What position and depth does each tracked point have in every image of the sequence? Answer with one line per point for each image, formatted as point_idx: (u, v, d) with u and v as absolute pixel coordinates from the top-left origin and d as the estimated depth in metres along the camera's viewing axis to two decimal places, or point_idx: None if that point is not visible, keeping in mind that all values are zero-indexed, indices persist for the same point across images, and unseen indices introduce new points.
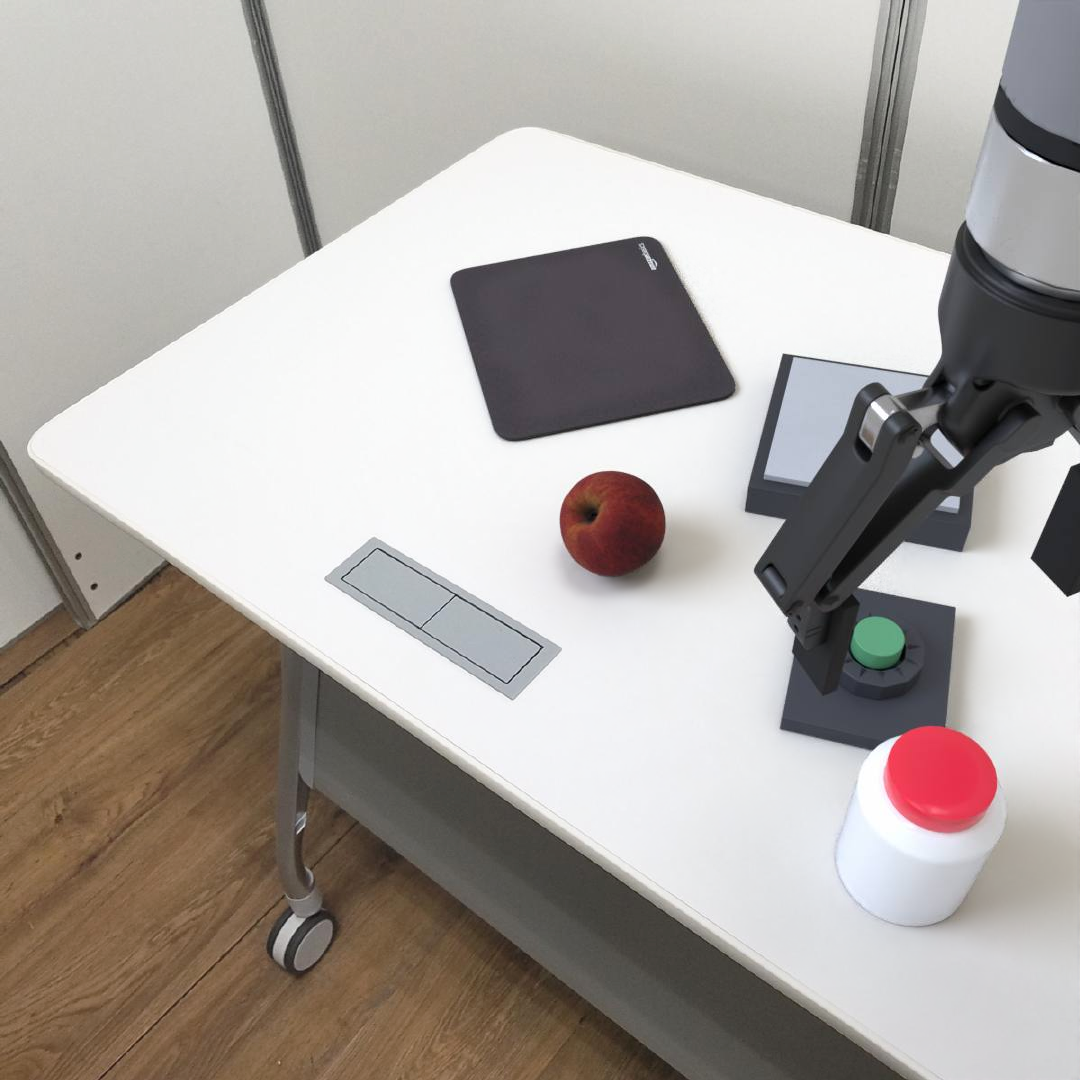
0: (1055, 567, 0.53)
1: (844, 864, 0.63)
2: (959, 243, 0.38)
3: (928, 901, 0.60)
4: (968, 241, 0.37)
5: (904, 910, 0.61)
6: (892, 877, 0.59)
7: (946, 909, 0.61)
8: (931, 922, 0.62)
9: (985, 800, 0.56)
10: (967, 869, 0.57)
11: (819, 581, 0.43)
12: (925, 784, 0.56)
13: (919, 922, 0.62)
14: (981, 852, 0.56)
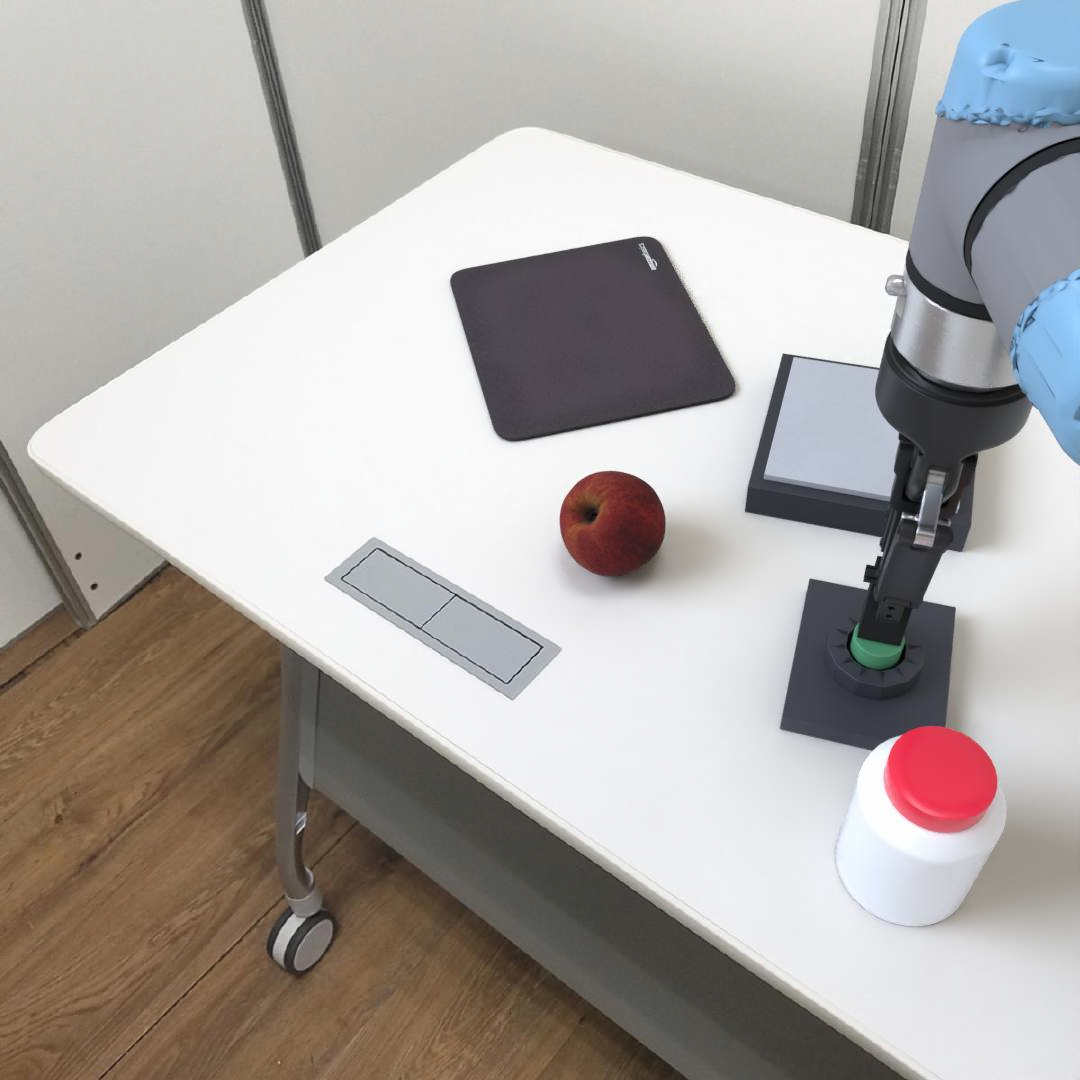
0: None
1: (844, 864, 0.63)
2: (912, 386, 0.52)
3: (928, 901, 0.60)
4: (922, 382, 0.52)
5: (904, 910, 0.61)
6: (892, 877, 0.59)
7: (946, 909, 0.61)
8: (931, 922, 0.62)
9: (985, 800, 0.56)
10: (967, 869, 0.57)
11: None
12: (925, 784, 0.56)
13: (919, 922, 0.62)
14: (981, 852, 0.56)
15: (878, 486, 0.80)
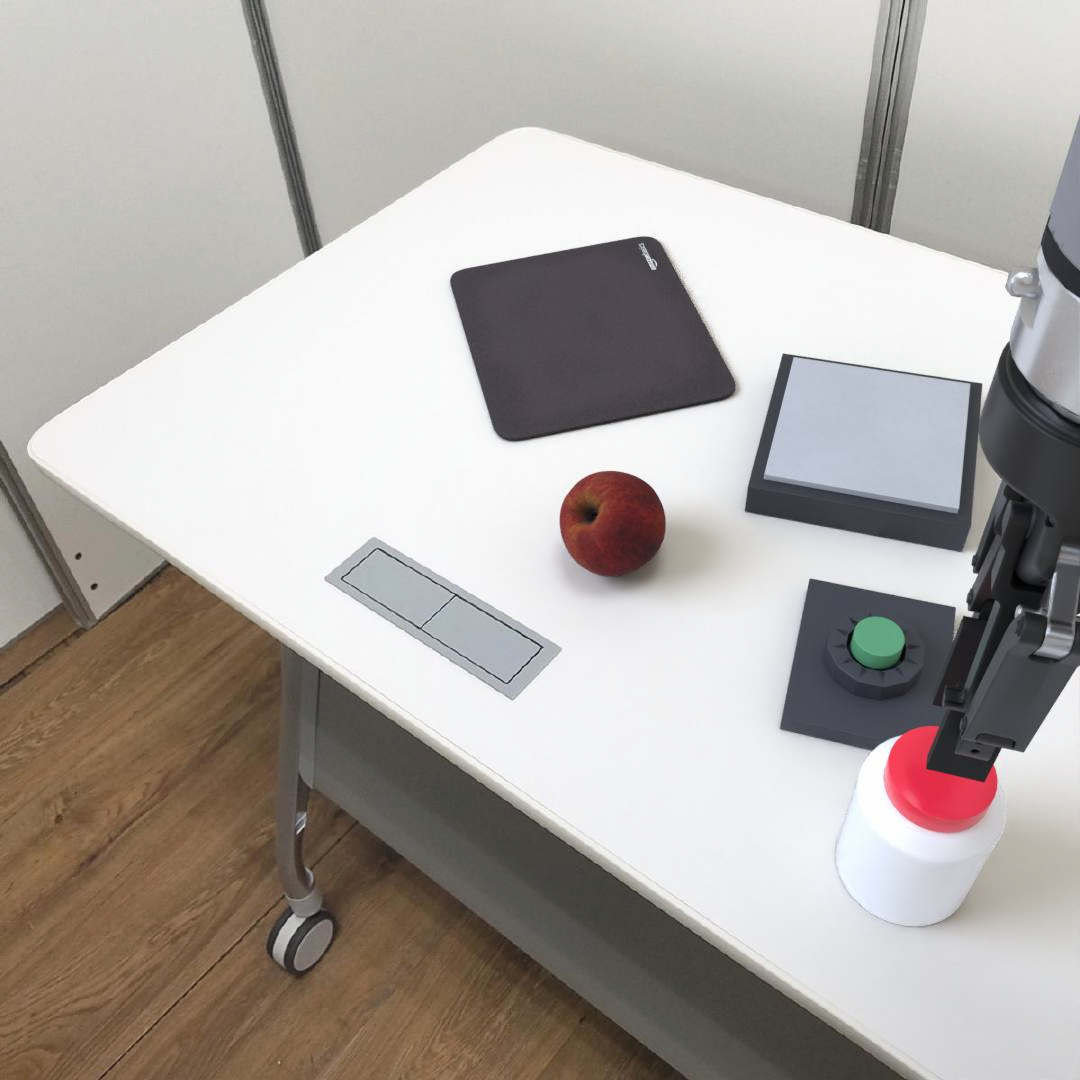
0: None
1: (844, 864, 0.63)
2: (1045, 429, 0.36)
3: (928, 901, 0.60)
4: (1061, 424, 0.35)
5: (904, 910, 0.61)
6: (892, 877, 0.59)
7: (946, 909, 0.61)
8: (931, 922, 0.62)
9: (985, 800, 0.56)
10: (967, 869, 0.57)
11: None
12: (925, 784, 0.56)
13: (919, 922, 0.62)
14: (981, 852, 0.56)
15: (878, 486, 0.80)
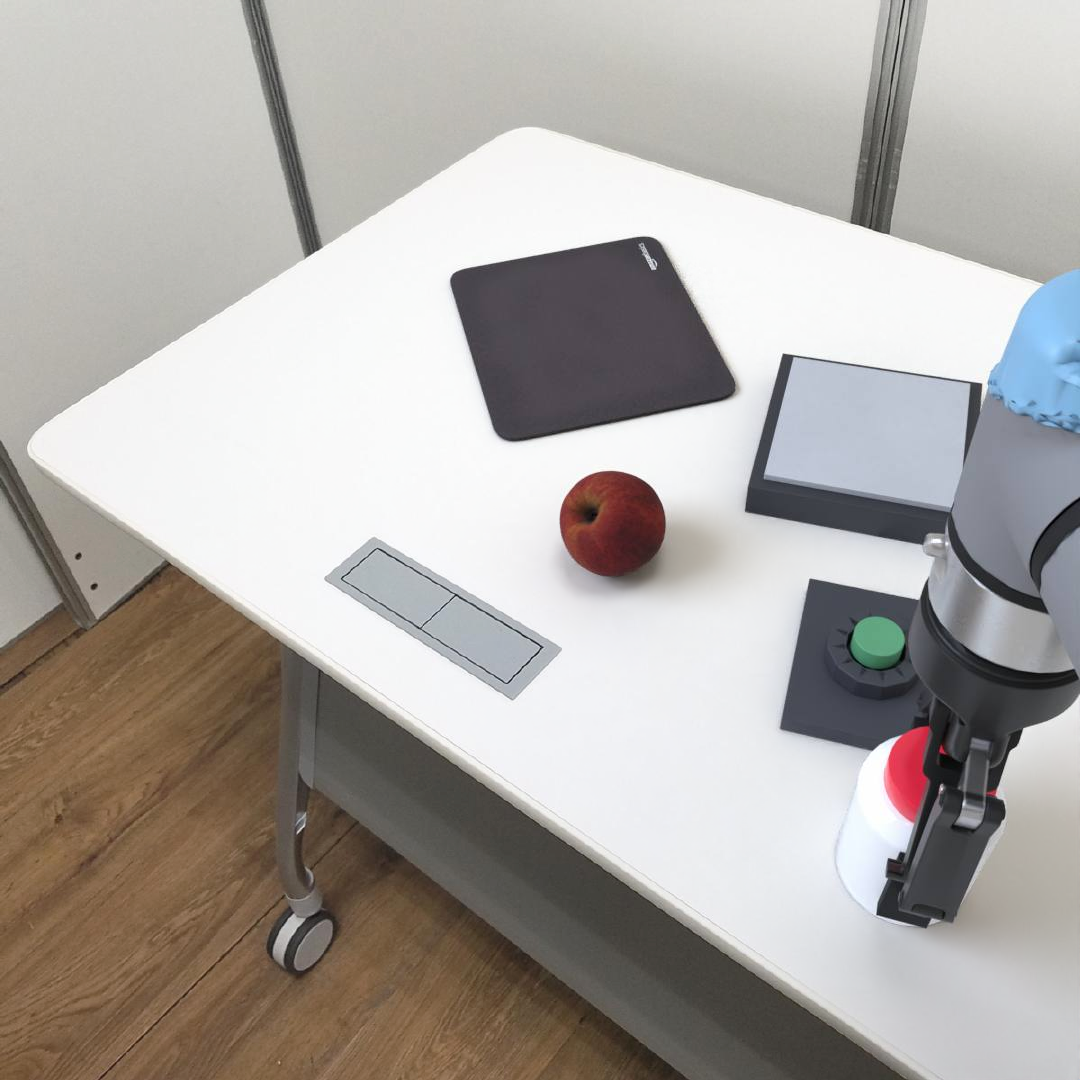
0: None
1: (844, 864, 0.63)
2: (954, 658, 0.45)
3: None
4: (966, 656, 0.45)
5: None
6: None
7: None
8: (931, 922, 0.62)
9: None
10: None
11: None
12: None
13: None
14: None
15: (878, 486, 0.80)
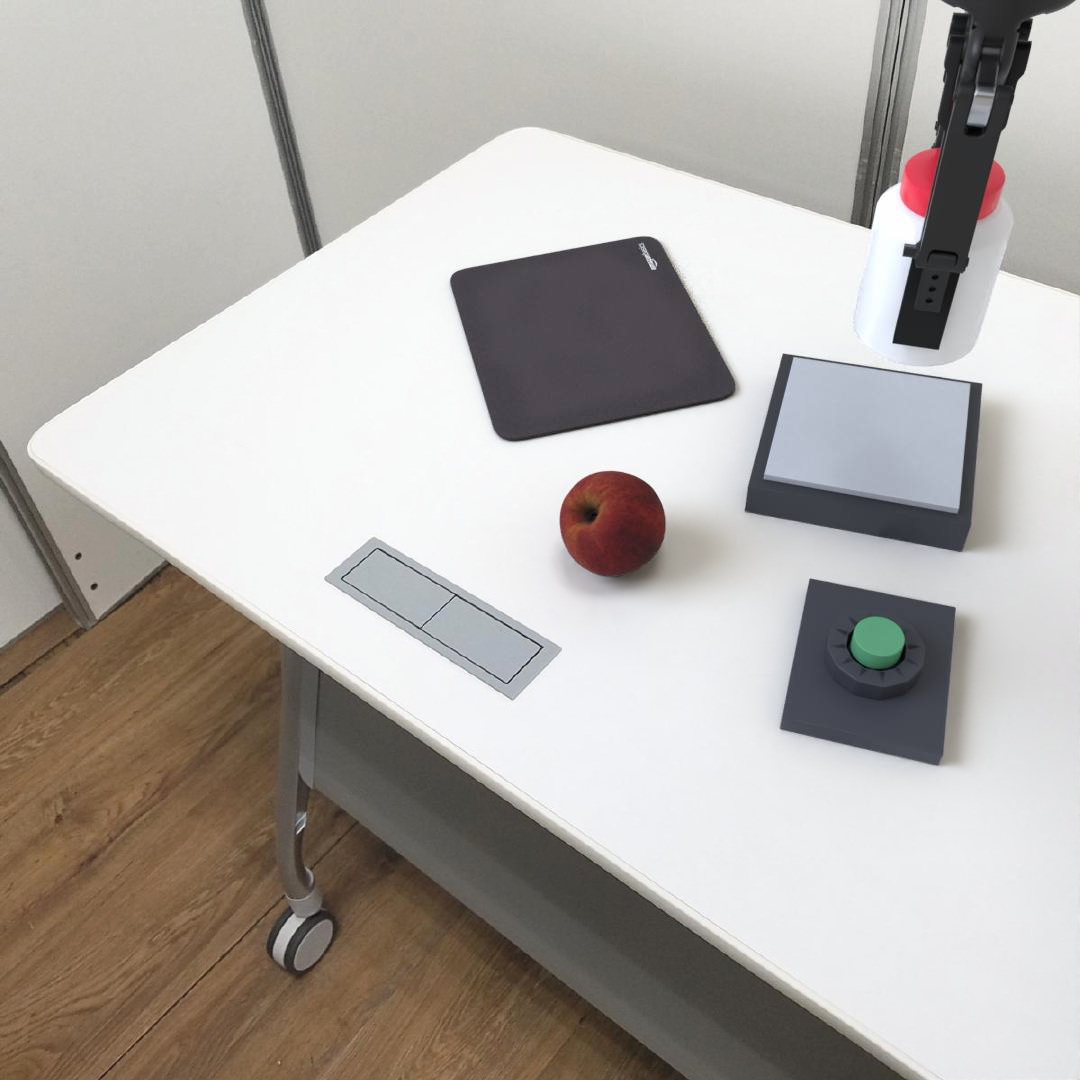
0: None
1: (862, 316, 0.68)
2: None
3: None
4: None
5: None
6: None
7: (957, 340, 0.66)
8: (943, 360, 0.67)
9: (994, 187, 0.61)
10: (977, 269, 0.62)
11: None
12: None
13: (932, 358, 0.67)
14: (990, 243, 0.61)
15: (878, 486, 0.80)
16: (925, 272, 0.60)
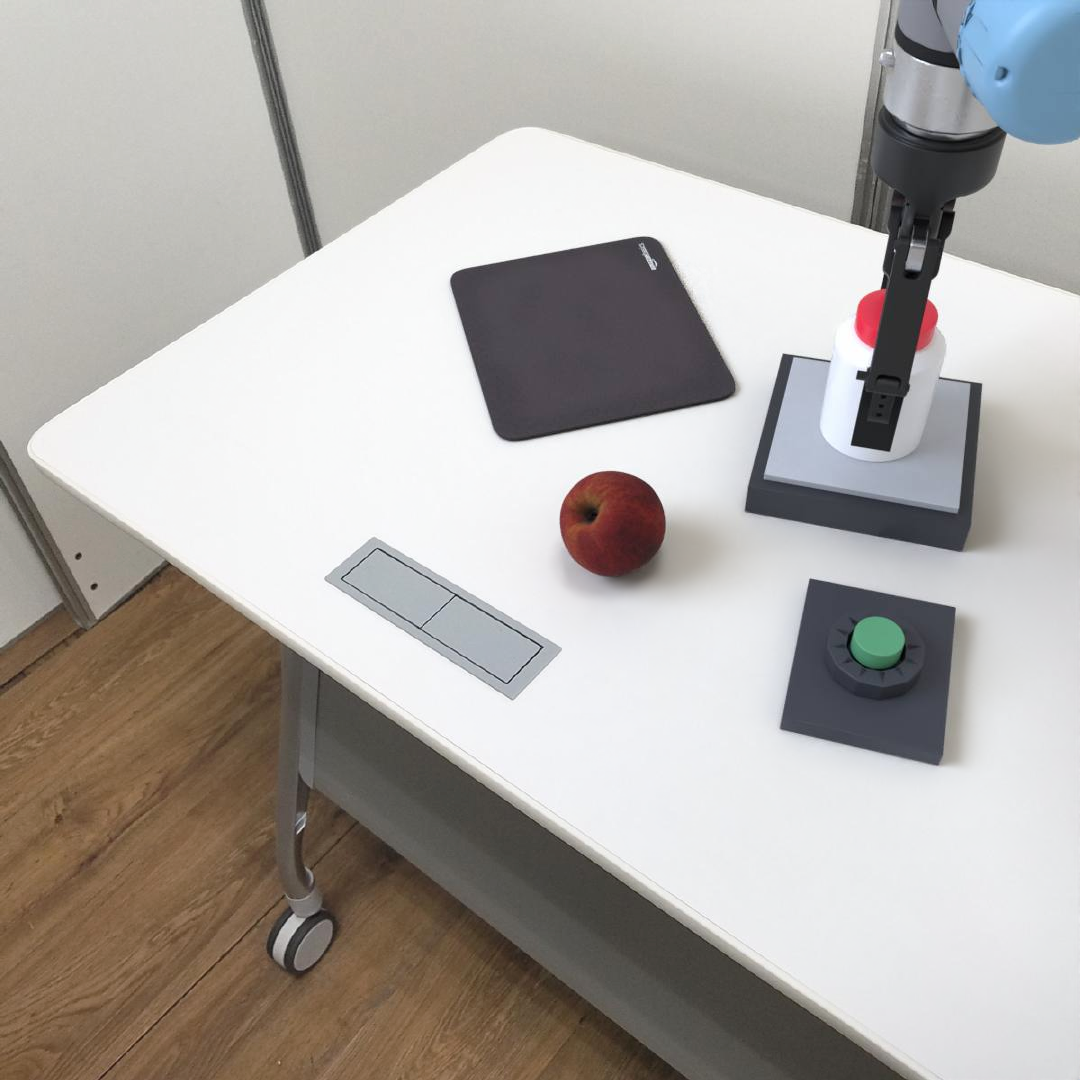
0: None
1: (826, 419, 0.83)
2: (900, 140, 0.64)
3: None
4: (908, 136, 0.64)
5: None
6: None
7: (903, 442, 0.81)
8: (892, 457, 0.82)
9: (928, 326, 0.75)
10: (916, 388, 0.77)
11: None
12: None
13: (883, 455, 0.81)
14: (926, 369, 0.76)
15: (878, 486, 0.80)
16: (875, 392, 0.72)
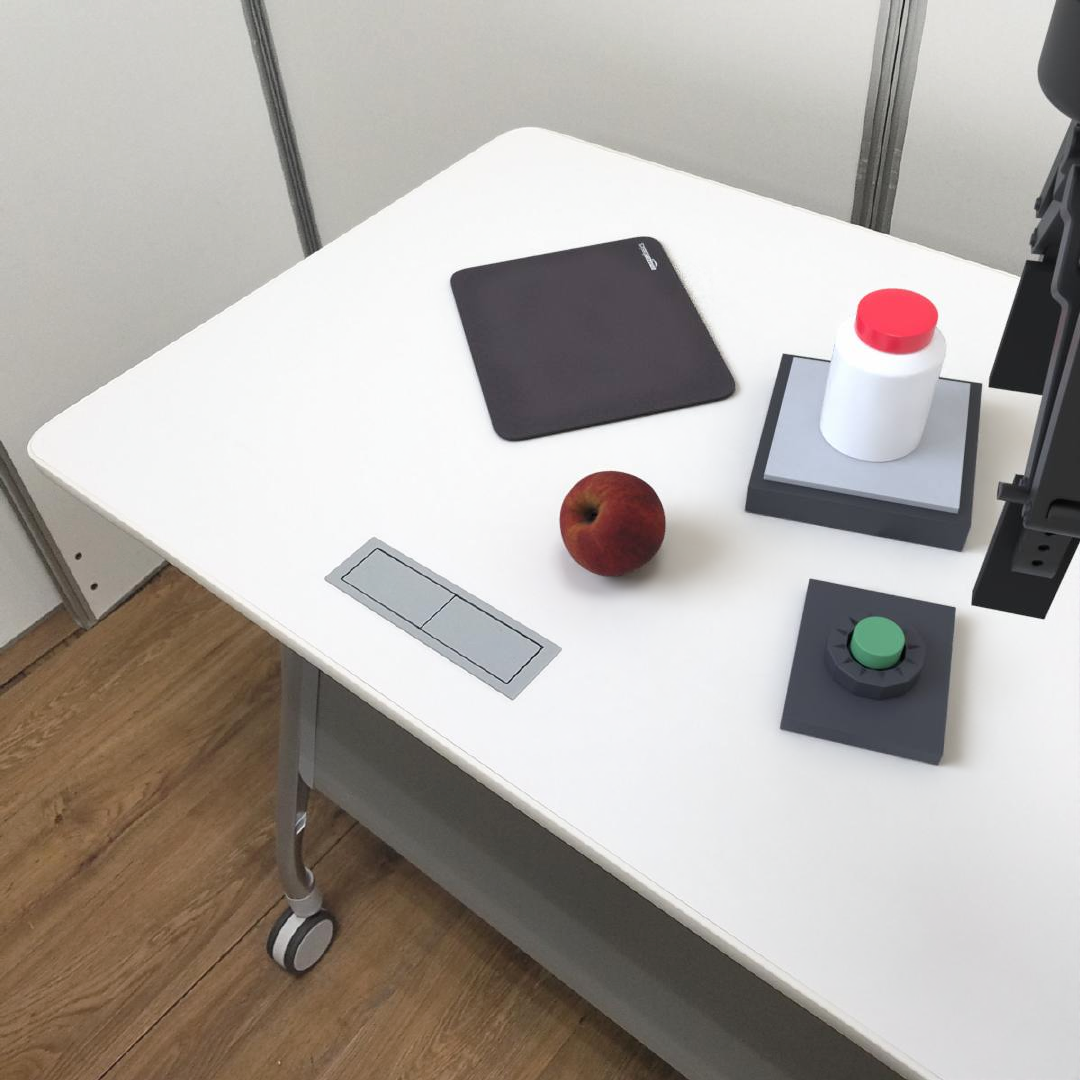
0: (1026, 377, 0.50)
1: (826, 419, 0.83)
2: None
3: (888, 427, 0.79)
4: None
5: (871, 441, 0.81)
6: (860, 404, 0.79)
7: (903, 442, 0.81)
8: (892, 457, 0.82)
9: (928, 325, 0.75)
10: (916, 388, 0.77)
11: None
12: (884, 318, 0.76)
13: (883, 455, 0.81)
14: (926, 369, 0.76)
15: (878, 486, 0.80)
16: None
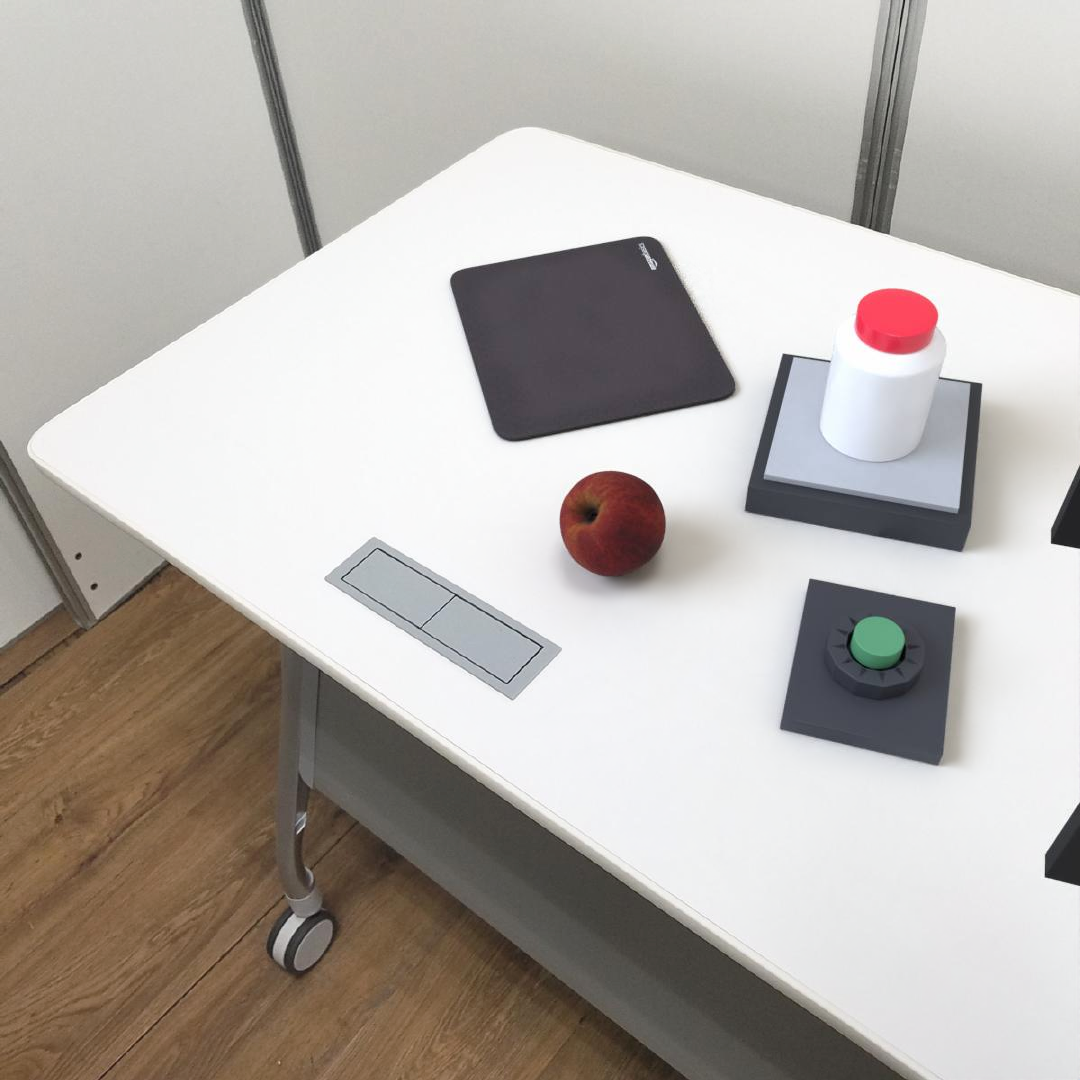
0: None
1: (826, 419, 0.83)
2: None
3: (888, 427, 0.79)
4: None
5: (871, 441, 0.81)
6: (860, 404, 0.79)
7: (903, 442, 0.81)
8: (892, 457, 0.82)
9: (928, 325, 0.75)
10: (916, 388, 0.77)
11: None
12: (884, 318, 0.76)
13: (883, 455, 0.81)
14: (926, 369, 0.76)
15: (878, 486, 0.80)
16: None
